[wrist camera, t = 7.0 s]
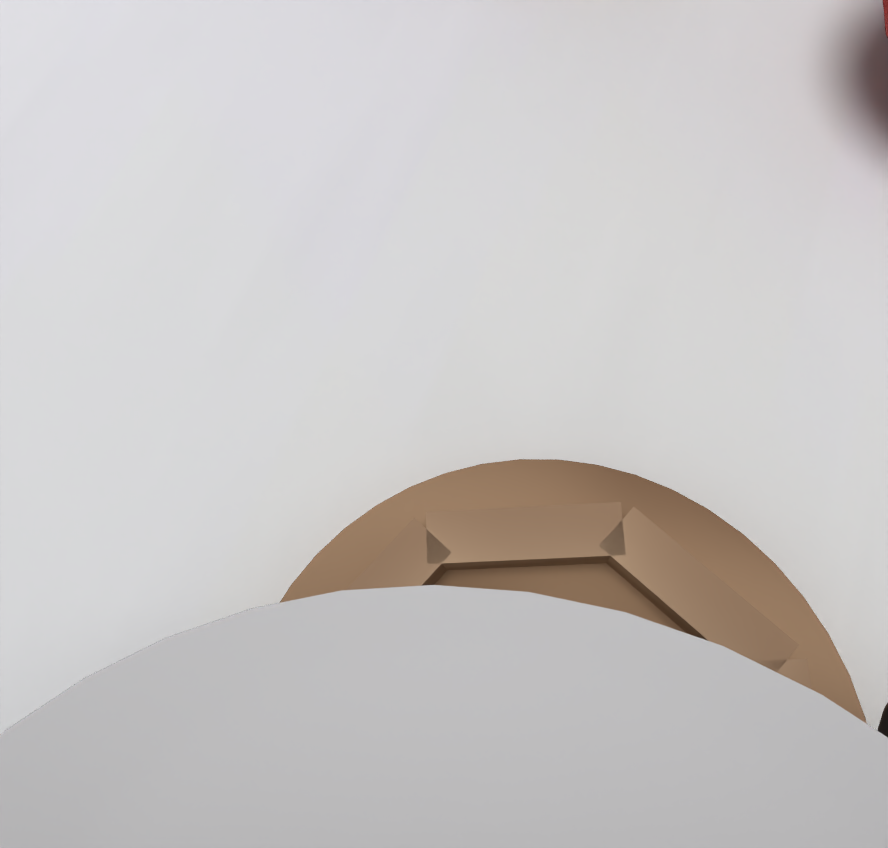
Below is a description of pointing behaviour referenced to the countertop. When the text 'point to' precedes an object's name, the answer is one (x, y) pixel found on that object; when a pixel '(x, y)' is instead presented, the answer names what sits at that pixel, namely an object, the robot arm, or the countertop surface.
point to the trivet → (587, 559)
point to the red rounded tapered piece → (886, 15)
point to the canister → (440, 736)
